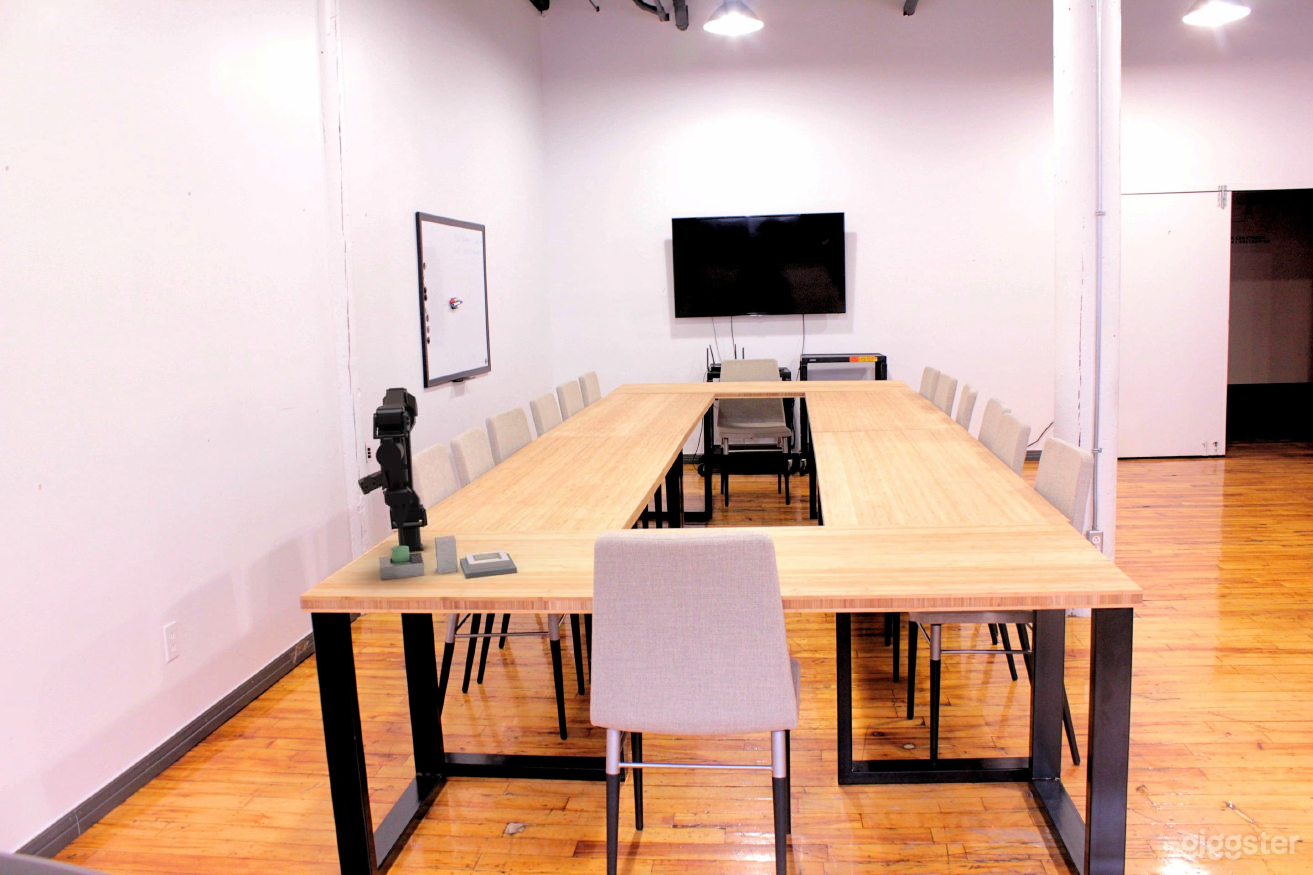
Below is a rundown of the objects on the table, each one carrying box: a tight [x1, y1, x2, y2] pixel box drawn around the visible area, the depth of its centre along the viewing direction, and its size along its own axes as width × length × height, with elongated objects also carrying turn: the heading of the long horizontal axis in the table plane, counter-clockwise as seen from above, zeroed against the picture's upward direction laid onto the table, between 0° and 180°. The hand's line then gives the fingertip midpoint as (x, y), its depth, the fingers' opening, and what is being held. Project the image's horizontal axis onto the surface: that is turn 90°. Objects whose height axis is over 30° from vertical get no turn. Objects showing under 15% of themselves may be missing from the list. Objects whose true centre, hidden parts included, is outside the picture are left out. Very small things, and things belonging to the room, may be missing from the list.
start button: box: [391, 545, 410, 563], centre depth 238 cm, size 4×4×4 cm
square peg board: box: [378, 552, 425, 581], centre depth 238 cm, size 10×10×3 cm
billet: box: [434, 535, 459, 575], centre depth 237 cm, size 4×4×8 cm
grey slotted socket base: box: [459, 549, 518, 579], centre depth 239 cm, size 14×12×3 cm
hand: (399, 524), depth 236 cm, fingers open, 8 cm apart
